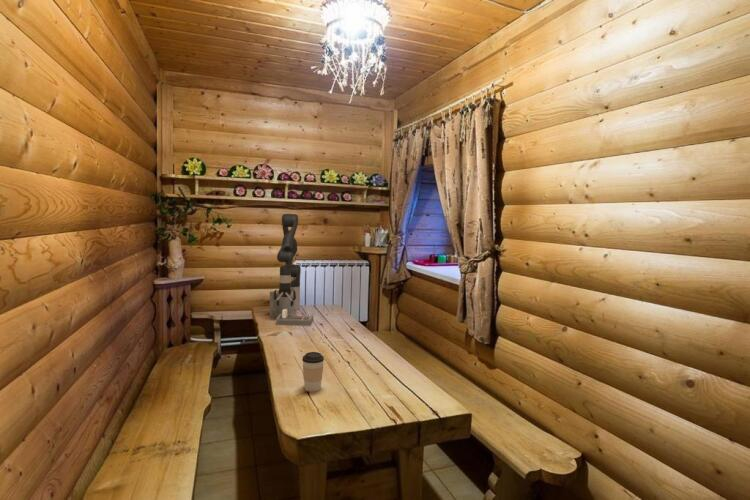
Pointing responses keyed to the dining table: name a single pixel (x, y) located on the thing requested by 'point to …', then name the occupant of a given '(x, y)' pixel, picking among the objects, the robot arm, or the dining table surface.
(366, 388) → the dining table surface
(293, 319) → the console
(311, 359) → the coffee cup
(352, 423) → the dining table surface
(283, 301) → the grey upright panel
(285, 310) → the fader tab
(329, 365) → the dining table surface
